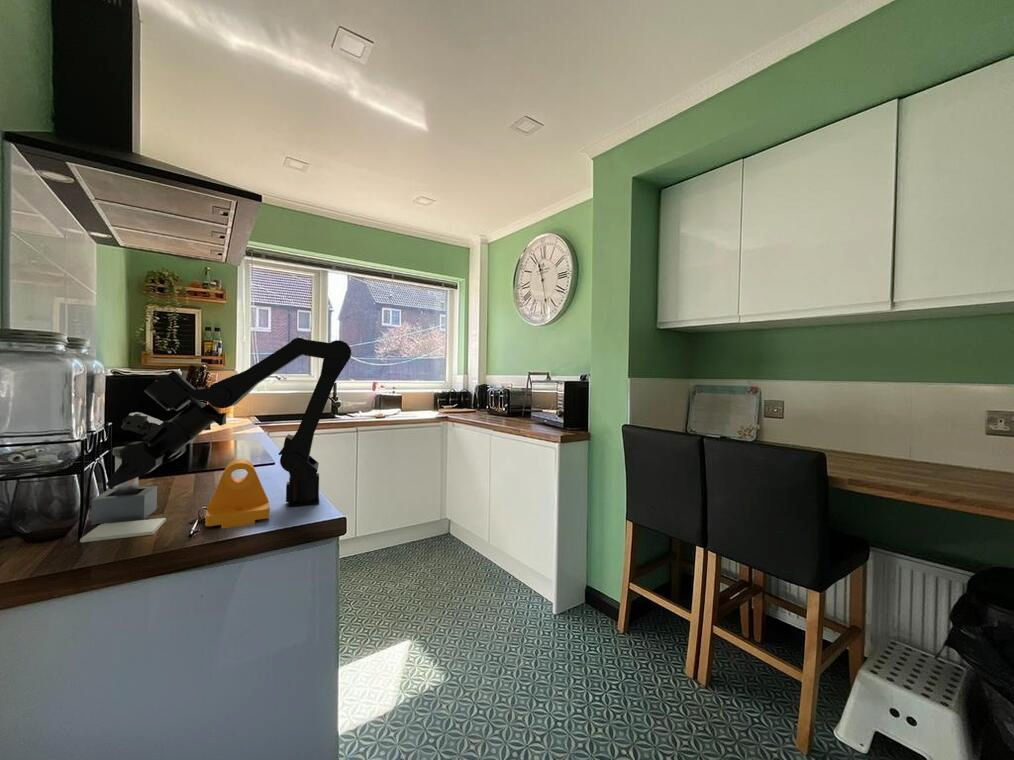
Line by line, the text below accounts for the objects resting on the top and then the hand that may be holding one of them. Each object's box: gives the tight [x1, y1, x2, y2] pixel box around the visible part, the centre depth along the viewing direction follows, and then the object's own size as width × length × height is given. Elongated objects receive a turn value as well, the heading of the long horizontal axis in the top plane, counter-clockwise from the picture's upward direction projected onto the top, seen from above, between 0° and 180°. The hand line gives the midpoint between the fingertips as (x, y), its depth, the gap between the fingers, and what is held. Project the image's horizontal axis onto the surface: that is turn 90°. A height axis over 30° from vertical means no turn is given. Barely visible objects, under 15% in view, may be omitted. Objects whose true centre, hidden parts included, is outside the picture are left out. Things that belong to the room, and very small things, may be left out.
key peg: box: [112, 445, 139, 496], centre depth 86 cm, size 4×4×12 cm
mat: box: [79, 517, 167, 543], centre depth 79 cm, size 10×8×1 cm
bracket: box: [204, 458, 271, 529], centre depth 86 cm, size 11×7×12 cm, turn 122°
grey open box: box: [90, 485, 158, 526], centre depth 86 cm, size 8×8×5 cm
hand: (119, 480), depth 86 cm, fingers open, 9 cm apart
